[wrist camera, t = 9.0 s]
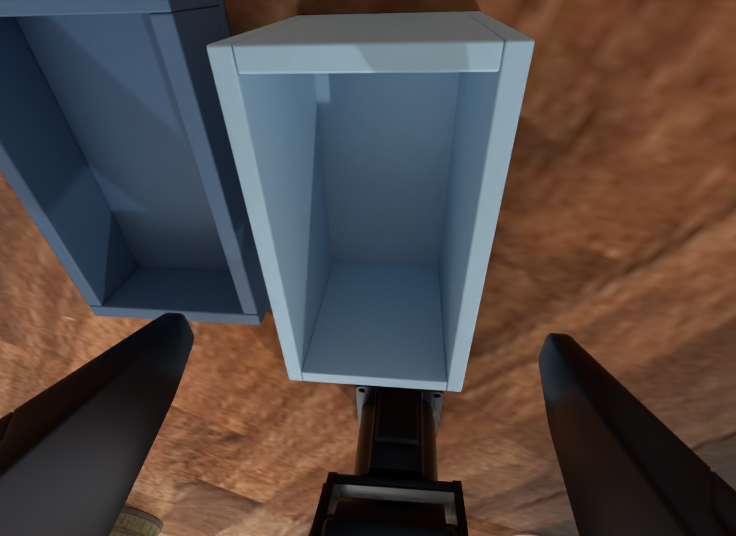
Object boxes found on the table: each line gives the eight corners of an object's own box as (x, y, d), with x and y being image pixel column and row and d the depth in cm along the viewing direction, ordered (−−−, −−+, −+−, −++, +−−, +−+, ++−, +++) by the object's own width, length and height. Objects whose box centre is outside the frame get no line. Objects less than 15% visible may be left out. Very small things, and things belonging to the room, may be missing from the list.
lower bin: (282, 277, 23) (261, 325, 20) (137, 271, 24) (94, 316, 21) (219, -22, 14) (161, -21, 11) (-8, -14, 15) (-120, -11, 12)
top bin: (447, 268, 21) (461, 392, 15) (325, 264, 22) (288, 380, 16) (481, 11, 14) (536, 39, 8) (295, 15, 15) (204, 44, 8)
